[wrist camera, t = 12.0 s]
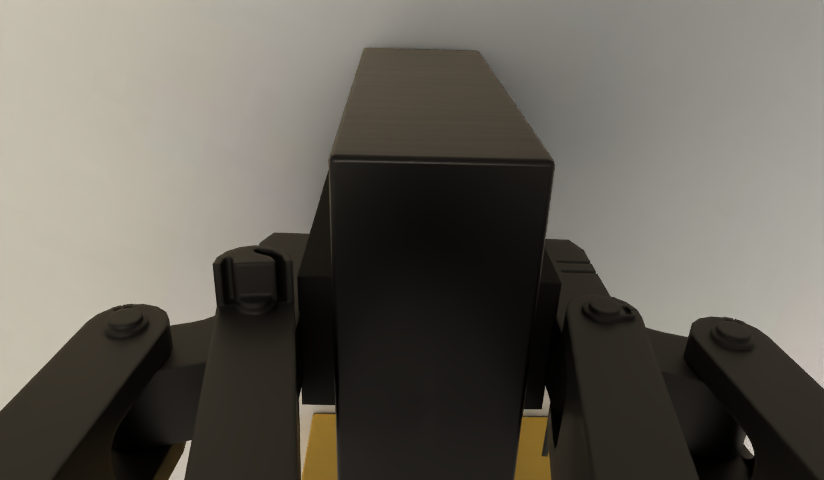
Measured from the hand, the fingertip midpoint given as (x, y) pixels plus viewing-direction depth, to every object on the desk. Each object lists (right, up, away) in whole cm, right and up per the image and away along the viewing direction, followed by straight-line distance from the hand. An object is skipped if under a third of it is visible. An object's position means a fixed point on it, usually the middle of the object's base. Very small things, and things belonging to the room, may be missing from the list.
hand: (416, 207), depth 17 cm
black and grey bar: (0, -4, +3) cm, 5 cm away
